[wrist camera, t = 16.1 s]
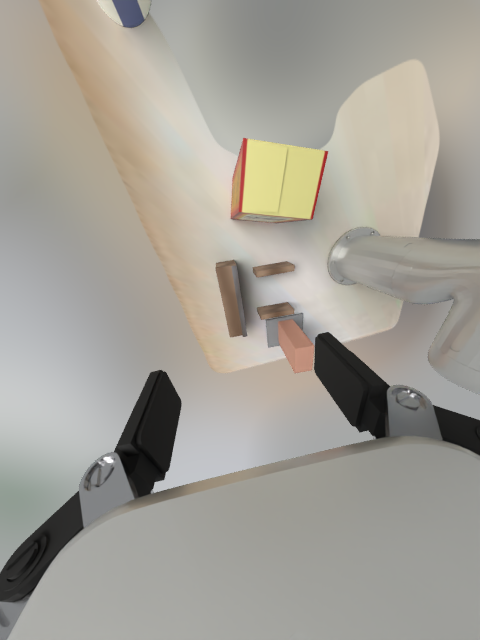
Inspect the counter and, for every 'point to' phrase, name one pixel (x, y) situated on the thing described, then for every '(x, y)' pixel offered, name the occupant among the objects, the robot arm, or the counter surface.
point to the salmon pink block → (295, 346)
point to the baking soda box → (276, 182)
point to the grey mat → (273, 327)
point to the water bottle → (126, 11)
